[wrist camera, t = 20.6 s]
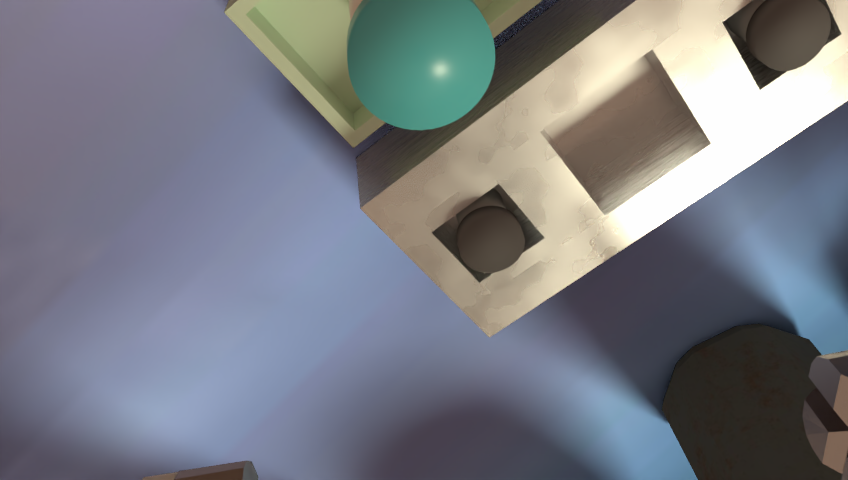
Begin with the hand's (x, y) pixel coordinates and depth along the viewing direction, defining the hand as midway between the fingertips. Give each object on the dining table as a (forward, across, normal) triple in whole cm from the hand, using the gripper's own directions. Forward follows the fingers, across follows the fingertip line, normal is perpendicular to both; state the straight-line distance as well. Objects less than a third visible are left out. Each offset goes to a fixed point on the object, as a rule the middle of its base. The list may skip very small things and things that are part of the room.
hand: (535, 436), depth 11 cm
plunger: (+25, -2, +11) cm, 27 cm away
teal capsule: (+26, 0, 0) cm, 26 cm away
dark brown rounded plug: (+25, -15, +4) cm, 29 cm away
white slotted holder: (+27, -9, +7) cm, 29 cm away
